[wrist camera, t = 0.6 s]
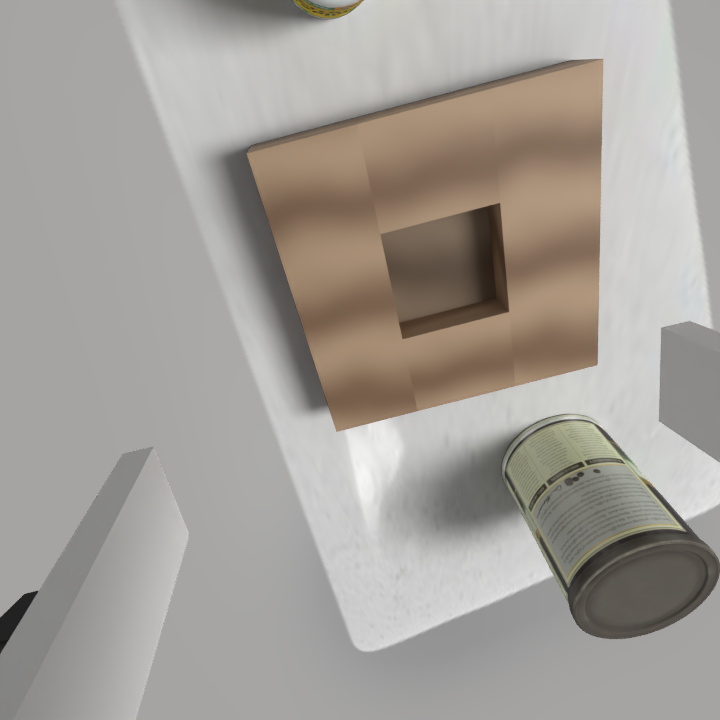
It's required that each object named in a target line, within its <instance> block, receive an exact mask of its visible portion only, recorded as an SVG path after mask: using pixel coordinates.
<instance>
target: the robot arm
mask: <svg viewBox="0 0 720 720" xmlns="http://www.w3.org/2000/svg"><path fill="white" fill-rule="evenodd" d="M659 421H660V422H661V423H663V424H664V425H666V426H667V427H668V428H670V429H671V430H673V431H674V432H676V433H677V434H679V435H680V436H682V437H683V438H685V439H686V440H688V441H689V442H690V443H692V444H693V445H695V446H696V447H698V448H699V449H701V450H702V451H704V452H705V453H707V454H708V455H709V456H711V457H712V458H714V459H715V460H717V461H718V462H720V333H719V332H717V331H714V330H712V329H709V328H707V327H704V326H701V325H699V324H696V323H693V322H691V321H688V322H684V323H679V324H675V325H671V326H667V327H662V328H661V361H660V402H659ZM188 538H189V533H188V530H187V528H186V526H185V523H184V521H183V518H182V516H181V513H180V511H179V508H178V506H177V503H176V501H175V498H174V496H173V493H172V491H171V488H170V486H169V484H168V481H167V479H166V476H165V474H164V471H163V469H162V466H161V464H160V461H159V459H158V456H157V454H156V451H155V449H154V447H150V448H146V449H142V450H137V451H133V452H129V453H124V454H122V456H121V457H120V459H119V461H118V462H117V464H116V466H115V467H114V469H113V471H112V472H111V474H110V475H109V477H108V479H107V480H106V482H105V483H104V485H103V487H102V489H101V490H100V492H99V493H98V495H97V497H96V498H95V500H94V502H93V503H92V505H91V506H90V508H89V510H88V511H87V513H86V515H85V516H84V518H83V519H82V521H81V523H80V525H79V526H78V528H77V529H76V531H75V533H74V534H73V536H72V538H71V539H70V541H69V542H68V544H67V546H66V547H65V549H64V551H63V552H62V554H61V556H60V557H59V559H58V560H57V562H56V564H55V565H54V567H53V569H52V570H51V572H50V574H49V575H48V577H47V578H46V580H45V582H44V583H43V585H42V587H41V588H40V590H39V591H35V592H31V593H27V594H24V595H23V596H22V597H21V598H20V599H19V600H18V601H17V602H16V603H15V604H14V605H13V606H12V607H11V608H10V609H9V610H8V611H7V612H6V613H5V614H4V615H3V616H2V617H0V720H136V717H137V713H138V709H139V706H140V703H141V699H142V696H143V692H144V689H145V685H146V682H147V679H148V675H149V672H150V668H151V665H152V662H153V658H154V655H155V651H156V648H157V644H158V641H159V637H160V634H161V630H162V627H163V624H164V620H165V617H166V613H167V610H168V607H169V603H170V600H171V596H172V593H173V589H174V586H175V582H176V579H177V575H178V572H179V568H180V565H181V562H182V558H183V555H184V551H185V548H186V545H187V541H188Z"/></svg>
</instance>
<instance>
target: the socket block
mask: <svg viewBox="0 0 720 720" xmlns="http://www.w3.org/2000/svg"><path fill="white" fill-rule="evenodd" d="M602 92H603V59H588V60H571V61H567V62H563V63H560V64H556V65H552V66H548V67H544V68H541V69H537V70H533V71H529V72H526V73H522V74H518V75H514V76H511V77H507V78H503V79H499V80H496V81H492V82H488V83H484V84H480V85H477V86H473V87H469V88H465V89H462V90H458V91H454V92H450V93H447V94H443V95H439V96H435V97H432V98H428V99H424V100H420V101H416V102H413V103H409V104H405V105H401V106H398V107H394V108H390V109H386V110H383V111H379V112H375V113H371V114H368V115H364V116H360V117H356V118H352V119H349V120H345V121H341V122H337V123H334V124H330V125H326V126H322V127H319V128H315V129H311V130H307V131H304V132H300V133H296V134H292V135H288V136H285V137H281V138H277V139H273V140H270V141H266V142H262V143H258V144H255V145H251V147H250V148H249V150H248V152H247V157H248V160H249V163H250V166H251V169H252V172H253V175H254V178H255V181H256V184H257V188H258V191H259V194H260V197H261V200H262V203H263V206H264V209H265V212H266V215H267V218H268V222H269V225H270V228H271V231H272V234H273V237H274V240H275V243H276V246H277V249H278V252H279V255H280V259H281V262H282V265H283V268H284V271H285V274H286V277H287V280H288V283H289V286H290V289H291V293H292V296H293V299H294V302H295V305H296V308H297V311H298V314H299V317H300V320H301V323H302V327H303V330H304V333H305V336H306V339H307V342H308V345H309V348H310V351H311V354H312V357H313V360H314V364H315V367H316V370H317V373H318V376H319V379H320V382H321V385H322V388H323V391H324V394H325V398H326V401H327V404H328V407H329V410H330V413H331V416H332V419H333V422H334V425H335V428H336V432H337V431H341V430H345V429H349V428H353V427H357V426H361V425H365V424H369V423H373V422H376V421H380V420H384V419H388V418H392V417H396V416H400V415H404V414H408V413H412V412H416V411H420V410H423V409H427V408H431V407H435V406H439V405H443V404H447V403H451V402H455V401H459V400H463V399H466V398H470V397H474V396H478V395H482V394H486V393H490V392H494V391H498V390H502V389H506V388H509V387H513V386H517V385H521V384H525V383H529V382H533V381H537V380H541V379H545V378H549V377H553V376H556V375H560V374H564V373H568V372H572V371H576V370H580V369H584V368H588V367H592V366H596V365H597V363H598V309H599V255H600V200H601V146H602Z"/></svg>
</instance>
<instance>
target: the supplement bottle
mask: <svg viewBox="0 0 720 720" xmlns="http://www.w3.org/2000/svg"><path fill="white" fill-rule="evenodd" d="M292 1H293V3H294V4H295V5H296V6H297V7H299V8H300V9H301V10H302V11H304V12H305V13H307V14H309V15H311V16H313V17H316V18H321V19H334V18H338V17H341V16H344V15H346V14H348V13H350V12H351V11H352V10H354V9H355V8H356V7H357V6H359V5H360V4H361V3H362V1H364V0H292Z"/></svg>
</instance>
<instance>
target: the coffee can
mask: <svg viewBox="0 0 720 720" xmlns="http://www.w3.org/2000/svg"><path fill="white" fill-rule="evenodd" d="M502 477H503V480H504V482H505V484H506V486H507V487H508V489H509V490H510V492H511V494H512V496H513V498H514V500H515V501H516V503H517V505H518V507H519V509H520V511H521V513H522V515H523V517H524V519H525V521H526V523H527V524H528V526H529V528H530V530H531V532H532V534H533V536H534V538H535V540H536V542H537V544H538V546H539V548H540V550H541V552H542V554H543V556H544V557H545V559H546V561H547V563H548V565H549V568H550V569H551V571H552V573H553V575H554V577H555V579H556V581H557V583H558V584H559V586H560V588H561V590H562V592H563V594H564V596H565V598H566V600H567V602H568V603H569V607H570V611H571V614H572V616H573V618H574V620H575V622H576V623H577V625H578V626H579V627H580V628H581V629H582V630H583V631H585V632H586V633H588V634H590V635H593V636H596V637H601V638H607V639H623V638H624V639H625V638H632V637H636V636H641V635H645V634H648V633H652V632H655V631H657V630H660V629H663V628H665V627H667V626H669V625H671V624H673V623H675V622H677V621H679V620H680V619H682V618H684V617H685V616H687V615H688V614H689V613H691V612H692V611H693V610H695V609H696V608H697V607H698V606H699V605H700V604H702V602H703V601H704V600H705V599H706V598H707V597H708V596H709V595H710V593H711V592H712V590H713V589H714V587H715V586H716V583H717V581H718V578H719V574H720V563H719V560H718V557H717V556H716V554H715V553H714V552H713V550H712V549H711V548H710V547H709V546H708V545H707V544H706V543H705V542H703V541H702V540H700V539H699V538H698V536H697V535H696V534H695V533H694V532H693V531H692V529H691V528H690V527H689V526H688V525H687V524H686V523H685V521H684V520H683V519H682V518H681V517H680V516H679V515H678V514H677V512H676V511H675V510H674V509H673V508H672V507H671V505H670V504H669V503H668V502H667V501H666V500H665V499H664V497H663V496H662V495H661V494H660V493H659V492H658V491H657V490H656V489H655V487H654V486H653V485H652V484H651V483H650V482H649V481H648V479H647V478H646V477H645V476H644V475H643V474H642V472H641V471H640V470H639V469H638V468H637V467H636V466H635V464H634V463H633V462H632V461H631V460H630V459H629V458H628V456H627V455H626V454H625V453H624V452H623V451H622V449H621V448H620V447H619V446H618V445H617V444H616V443H615V441H614V440H613V439H612V438H611V437H610V436H609V435H608V433H607V432H606V430H605V429H604V428H603V427H602V425H601V424H599V423H598V422H597V421H595V420H593V419H591V418H589V417H586V416H582V415H574V414H567V415H559V416H554V417H550V418H547V419H544V420H542V421H540V422H538V423H536V424H534V425H532V426H531V427H529V428H528V429H526V430H525V431H524V432H522V433H521V434H520V435H519V436H518V437H517V438H516V439H515V440H514V441H513V443H512V444H511V445H510V447H509V448H508V450H507V452H506V454H505V456H504V459H503V463H502Z"/></svg>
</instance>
